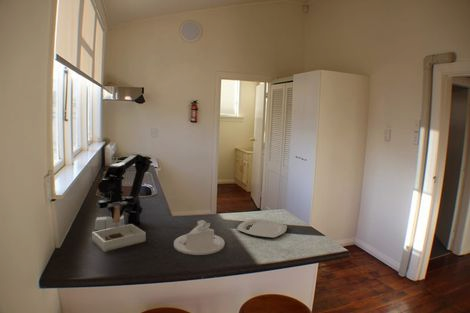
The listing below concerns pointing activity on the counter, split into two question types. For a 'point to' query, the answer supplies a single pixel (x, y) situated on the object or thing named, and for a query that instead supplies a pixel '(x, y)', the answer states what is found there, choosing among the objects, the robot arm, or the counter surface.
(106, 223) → the syrup box
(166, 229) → the counter surface
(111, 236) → the socket
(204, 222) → the dish
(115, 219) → the peg
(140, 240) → the tray
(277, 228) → the plate
